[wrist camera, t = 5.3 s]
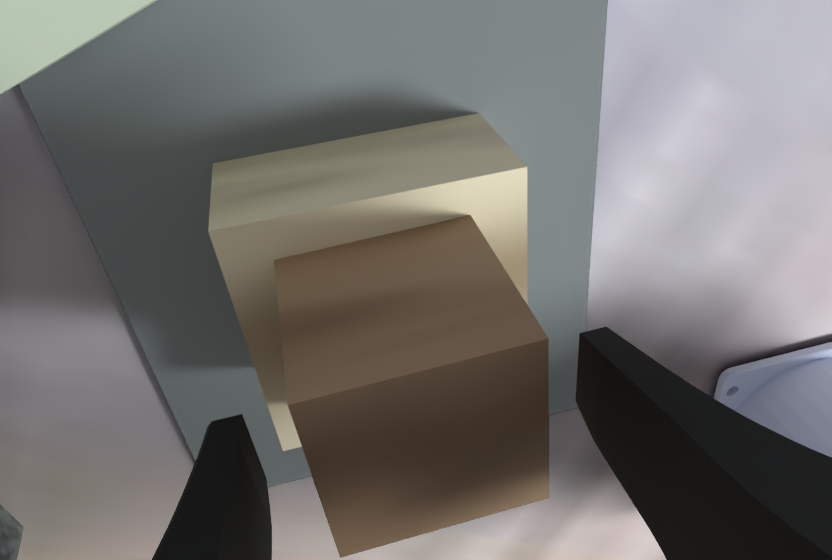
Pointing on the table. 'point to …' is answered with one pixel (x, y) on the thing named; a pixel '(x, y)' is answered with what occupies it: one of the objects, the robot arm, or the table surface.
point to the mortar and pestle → (9, 536)
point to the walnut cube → (414, 382)
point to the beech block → (355, 215)
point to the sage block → (52, 31)
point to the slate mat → (300, 126)
